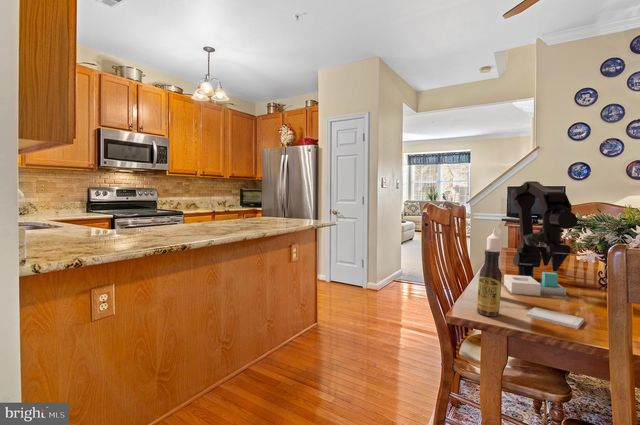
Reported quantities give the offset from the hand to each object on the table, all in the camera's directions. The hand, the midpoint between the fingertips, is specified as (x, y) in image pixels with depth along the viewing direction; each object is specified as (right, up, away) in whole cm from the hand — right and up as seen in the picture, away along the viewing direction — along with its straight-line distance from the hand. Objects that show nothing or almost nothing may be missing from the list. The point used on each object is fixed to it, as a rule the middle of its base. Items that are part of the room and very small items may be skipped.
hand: (549, 268), depth 118 cm
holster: (0, -9, 0) cm, 9 cm away
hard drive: (-14, -12, -22) cm, 29 cm away
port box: (-9, -9, +3) cm, 13 cm away
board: (-5, -10, +2) cm, 11 cm away
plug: (0, -9, 0) cm, 9 cm away
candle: (-23, -10, -4) cm, 26 cm away
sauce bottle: (-32, -11, -18) cm, 39 cm away
